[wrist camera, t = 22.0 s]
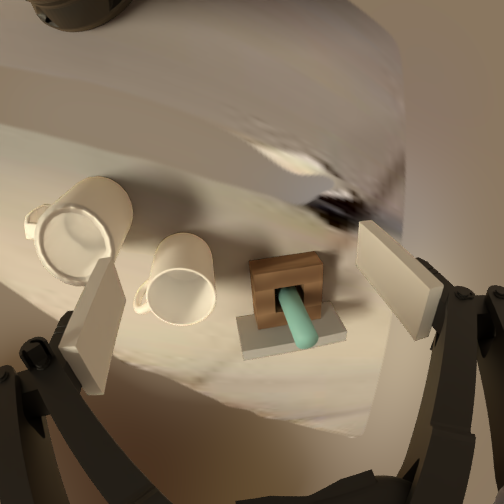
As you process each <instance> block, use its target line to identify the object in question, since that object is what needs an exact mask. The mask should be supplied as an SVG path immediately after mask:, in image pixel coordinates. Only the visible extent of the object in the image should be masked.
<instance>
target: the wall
mask: <svg viewBox="0 0 504 504" xmlns="http://www.w3.org/2000/svg"><path fill="white" fill-rule="evenodd" d="M236 320H237V327H238V332H239V338H240V343H241V349H242V354H243V359H244V361H245V360H251V359H257V358H263V357H269V356H275V355H280V354H285V353H291V352H296V351H301V350H306V349H300V348H298V347H297V346H296V344H295V341H294V338H293V336H292V333H291V330H290V328H289V325H284V326H278V327H272V328H267V329H261V330H258V327H257V323H256V319H255V315H247V316H241V317H236ZM311 321H312V324H313V326H314V328H315V330H316V332H317V334H318V337H319V339H318V342H317V343H316V344H315V345H314V346H313V347H311V348H315V347H320V346H324V345H329V344H333V343H338V342H342V341H346V337H347V330H346V328H345V326H344V325H343V323H342V321H341V319H340V318H339V316H338V314H337V313H336V311H335V309H334V307H333V306H332V304H331V302H330V301H327V302H322V304H321V319H316V320H311ZM308 349H310V348H308Z"/></svg>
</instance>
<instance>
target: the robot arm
mask: <svg viewBox="0 0 504 504" xmlns="http://www.w3.org/2000/svg"><path fill="white" fill-rule="evenodd" d="M26 1H29V2H31V4H32V6H33V8H34V10H35V12H36V14H37V16H38V17H39V18H40V19H41V20H42V21H43V22H44V23H45V24H47V25H48V26H50V27H53V28H55V29H58V30H61V31H66V32H80V31H85V30H89V29H93V28H95V27H98V26H100V25H102V24H104V23H106V22H108V21H110V20H111V19H113V18H114V17H116V16H117V15H118V14H119V13H121V12H122V11H123V10H124V9H125V8H126V7H127V6H128V5H129V4H130V3H131V2H132V0H26ZM356 266H357V267H358V269H359V270H360V271H361V272H362V274H363V275H364V276H365V277H366V279H367V280H368V281H369V282H370V283H371V285H372V286H373V287H374V288H375V290H376V291H377V292H378V293H379V295H380V296H381V297H382V299H383V300H384V301H385V302H386V304H387V305H388V306H389V308H390V309H391V310H392V311H393V313H394V314H395V315H396V317H397V318H398V319H399V320H400V322H401V323H402V324H403V326H404V327H405V328H406V330H407V331H408V332H409V334H410V335H411V336H412V338H413V339H414V340H415V341H417V340H419V339H423V338H425V337H428V336H429V333H430V330H431V327H432V326H433V328H434V329H435V330H436V334H435V337H434V340H433V343H432V345H431V348H430V350H432V354H431V360H430V365H429V370H428V375H427V380H426V385H425V389H424V393H423V397H422V402H421V406H420V410H419V413H418V417H417V421H416V424H415V428H414V431H413V435H412V438H411V442H410V444H409V448H408V451H407V454H406V457H405V460H404V462H403V465H402V467H401V469H400V471H399V473H398V474H397V477H393V476H374V474H373V472H372V470H368V471H365V472H362V473H360V474H356V475H353V476H350V477H347V478H343V479H340V480H339V481H337V482H335V483H333V484H331V485H329V486H328V487H326V488H324V489H322V490H320V491H318V492H316V493H314V494H312V495H310V496H300V497H297V496H294V497H293V496H267V497H261V498H255V499H248V500H240V501H236V504H463V500H464V496H465V492H466V488H467V484H468V479H469V474H470V470H471V465H472V459H473V454H474V448H475V439H476V437H475V434H471V432H470V431H471V422H472V414H473V406H474V396H475V383H476V366H477V362H478V366H479V371H480V375H481V380H482V385H483V389H484V395H485V400H486V406H487V411H488V418H489V425H490V431H491V440H492V449H493V460H494V470H495V479H496V484H497V488H498V494H497V496H496V500H495V502H494V504H504V287H501V286H497V285H494V286H490V287H489V288H488V290H487V293H486V295H479V296H478V295H476V296H475V294H474V293H473V292H472V291H471V290H470V289H468V288H465V287H462V286H455V287H454V286H453V285H452V284H451V283H450V282H449V281H447V280H446V279H445V278H444V277H443V276H442V275H441V274H440V273H438V271H437V270H436V269H434V268H433V267H432V266H431V265H430V264H429V263H428V262H427V261H425V260H423V259H421V258H414V257H413V256H412V255H411V254H410V253H409V252H408V251H407V250H406V249H404V248H403V247H402V246H401V245H400V244H399V243H398V242H397V241H395V240H394V239H393V238H392V237H391V236H390V235H389V234H387V233H386V232H385V231H384V230H383V229H382V228H380V227H379V226H378V225H377V224H376V223H374V222H373V221H372V220H368V221H360V222H359V234H358V248H357V259H356ZM125 303H126V298H125V295H124V292H123V289H122V286H121V283H120V280H119V277H118V274H117V271H116V268H115V265H114V261H113V258H112V257H106V258H100V259H98V261H97V263H96V265H95V267H94V269H93V271H92V273H91V275H90V277H89V279H88V281H87V283H86V285H85V288H84V290H83V292H82V294H81V296H80V298H79V300H78V302H77V305H76V307H75V309H74V311H67V312H66V313H65V314H64V315H63V316H62V318H61V319H60V321H59V323H58V325H57V328H56V329H55V332H54V334H53V336H52V338H51V341H50V343H49V344H48V342H47V340H46V339H45V338H43V337H34V338H32V339H30V340H28V341H27V342H25V343H24V344H23V346H22V347H21V349H20V352H19V355H20V358H21V359H22V361H23V362H24V364H25V365H26V367H27V368H28V370H25V371H21V372H18V373H16V371H15V370H14V368H13V367H11V366H9V365H5V366H2V367H0V502H1V504H70V503H69V500H68V497H67V494H66V491H65V488H64V485H63V482H62V479H61V476H60V472H59V469H58V465H57V462H56V459H55V454H54V451H53V447H52V442H51V438H50V434H49V429H48V425H47V420H46V415H50V414H51V416H52V418H53V420H54V421H55V424H56V425H57V427H58V429H59V431H60V432H61V434H62V436H63V438H64V439H65V441H66V443H67V444H68V446H69V448H70V449H71V451H72V452H73V454H74V455H75V457H76V458H77V460H78V462H79V463H80V465H81V466H82V468H83V469H84V471H85V472H86V474H87V475H88V476H89V478H90V479H91V481H92V482H93V483H94V485H95V486H96V487H97V489H98V490H99V491H100V493H101V494H102V496H103V497H104V498H105V499H106V501H107V502H108V503H109V504H173V503H172V502H171V501H169V500H168V499H167V498H166V497H165V496H164V495H163V494H162V493H161V492H160V491H159V490H158V489H157V488H156V487H155V486H154V485H153V484H152V483H151V482H150V480H149V479H148V478H147V477H146V476H145V475H144V474H143V473H142V472H141V471H140V470H139V469H138V468H137V466H136V465H135V464H134V463H133V462H132V461H131V460H130V459H129V457H128V456H127V455H126V454H125V453H124V452H123V450H122V449H121V448H120V447H119V446H118V444H117V443H116V442H115V441H114V439H113V438H112V437H111V436H110V435H109V433H108V432H107V431H106V429H105V428H104V427H103V426H102V424H101V423H100V422H99V420H98V419H97V418H96V416H95V415H94V413H93V412H92V411H91V409H90V408H89V407H88V405H87V404H86V402H85V401H84V400H83V398H82V396H81V395H80V391H81V387H83V389H84V390H85V392H86V393H87V395H104V390H105V385H106V380H107V376H108V371H109V366H110V362H111V358H112V353H113V349H114V345H115V341H116V337H117V333H118V329H119V325H120V321H121V317H122V314H123V310H124V306H125Z"/></svg>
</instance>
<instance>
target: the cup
mask: <svg viewBox="0 0 504 504" xmlns="http://www.w3.org/2000/svg"><path fill="white" fill-rule="evenodd" d="M145 293H146V300H147V302H146V303H144V304H142V305H141V301H142V297H143V295H144V294H145ZM215 304H216V288H215V278H214V268H213V258H212V253H211V251H210V248H209V246H208V245H207V244H206V242H205V241H204V240H202V239H201V238H200V237H198V236H196V235H194V234H190V233H176V234H173V235H170V236H168V237H166V238H165V239H164V240H163V241H162V242H161V243H160V244H159V246H158V247H157V249H156V252H155V255H154V259H153V264H152V268H151V272H150V277H149V279H148V280H147V281H145V282H144V283H143V284H142V285H141V286H140V288H139V289H138V291H137V293H136V295H135V298H134V303H133V306H134V310H135V312H136V313H138V314H145V313H148V312H150V311H152V312H153V313H154V315H156V316H157V317H158V318H159V319H161V320H162V321H164V322H167V323H169V324H173V325H179V326H186V325H192V324H196V323H198V322H200V321H202V320H204V319H205V318H206V317H208V316H209V315H210V313H211V312H212V311H213V309H214V307H215Z"/></svg>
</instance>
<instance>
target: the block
mask: <svg viewBox="0 0 504 504" xmlns="http://www.w3.org/2000/svg"><path fill="white" fill-rule="evenodd" d="M249 266H250V276H251V287H252V297H253V307H254V315H255V319H256V323H257V327H258V330H261V329H267V328H272V327H278V326H284V325H288V323H287V320H286V317H285V315H284V312H283V309H282V307H281V304H280V301H279V299H278V296H277V297H275V291H274V289H277V288H283V287H289V286H295V285H297V292H298V294H299V296H300V298H301V300H302V302H303V304H304V307H305V309H306V311H307V313H308V315H309V317H310V319H311V320H316V319H321V304H322V284H323V263H322V262H321V260H320V259H319V257H318V256H317V254H316V253H315V251H312V252H306V253H299V254H292V255H286V256H279V257H272V258H265V259H259V260H252V261H249Z"/></svg>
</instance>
